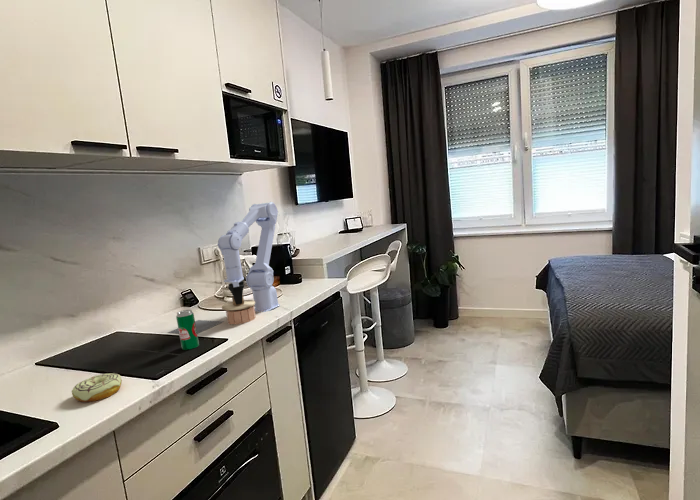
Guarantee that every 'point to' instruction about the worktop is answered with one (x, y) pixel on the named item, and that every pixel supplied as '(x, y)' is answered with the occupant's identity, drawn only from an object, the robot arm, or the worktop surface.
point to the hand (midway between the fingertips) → (239, 302)
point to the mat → (201, 325)
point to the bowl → (240, 315)
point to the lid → (239, 306)
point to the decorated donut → (97, 387)
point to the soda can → (187, 329)
